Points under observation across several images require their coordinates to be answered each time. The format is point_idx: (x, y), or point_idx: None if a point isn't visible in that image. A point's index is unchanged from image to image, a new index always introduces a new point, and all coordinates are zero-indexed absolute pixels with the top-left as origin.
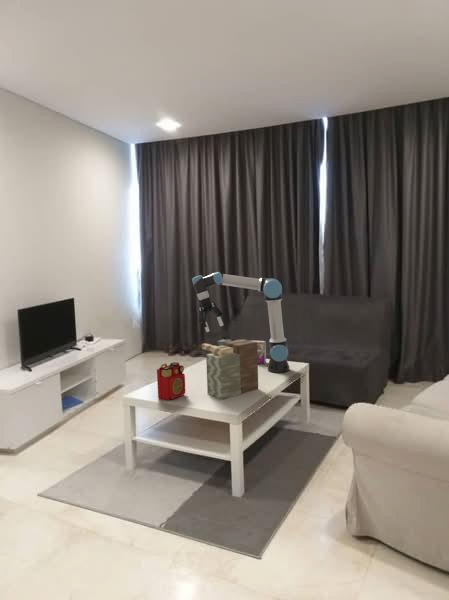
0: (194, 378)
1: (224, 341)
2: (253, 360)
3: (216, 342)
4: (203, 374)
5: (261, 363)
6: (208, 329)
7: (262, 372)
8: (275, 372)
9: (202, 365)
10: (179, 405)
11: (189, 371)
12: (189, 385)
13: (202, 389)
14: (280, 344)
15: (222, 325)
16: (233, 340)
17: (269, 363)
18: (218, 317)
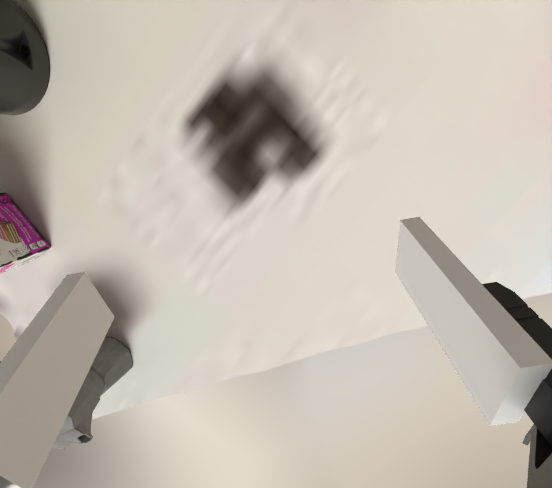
0: (374, 238)
1: None
2: None
3: (92, 436)
4: (305, 258)
5: (15, 204)
6: (434, 234)
7: (83, 83)
8: (34, 24)
9: (226, 359)
10: None
11: (318, 332)
12: (468, 165)
13: (479, 60)
14: None
15: (86, 281)
16: None
17: (7, 69)
18: (7, 458)
